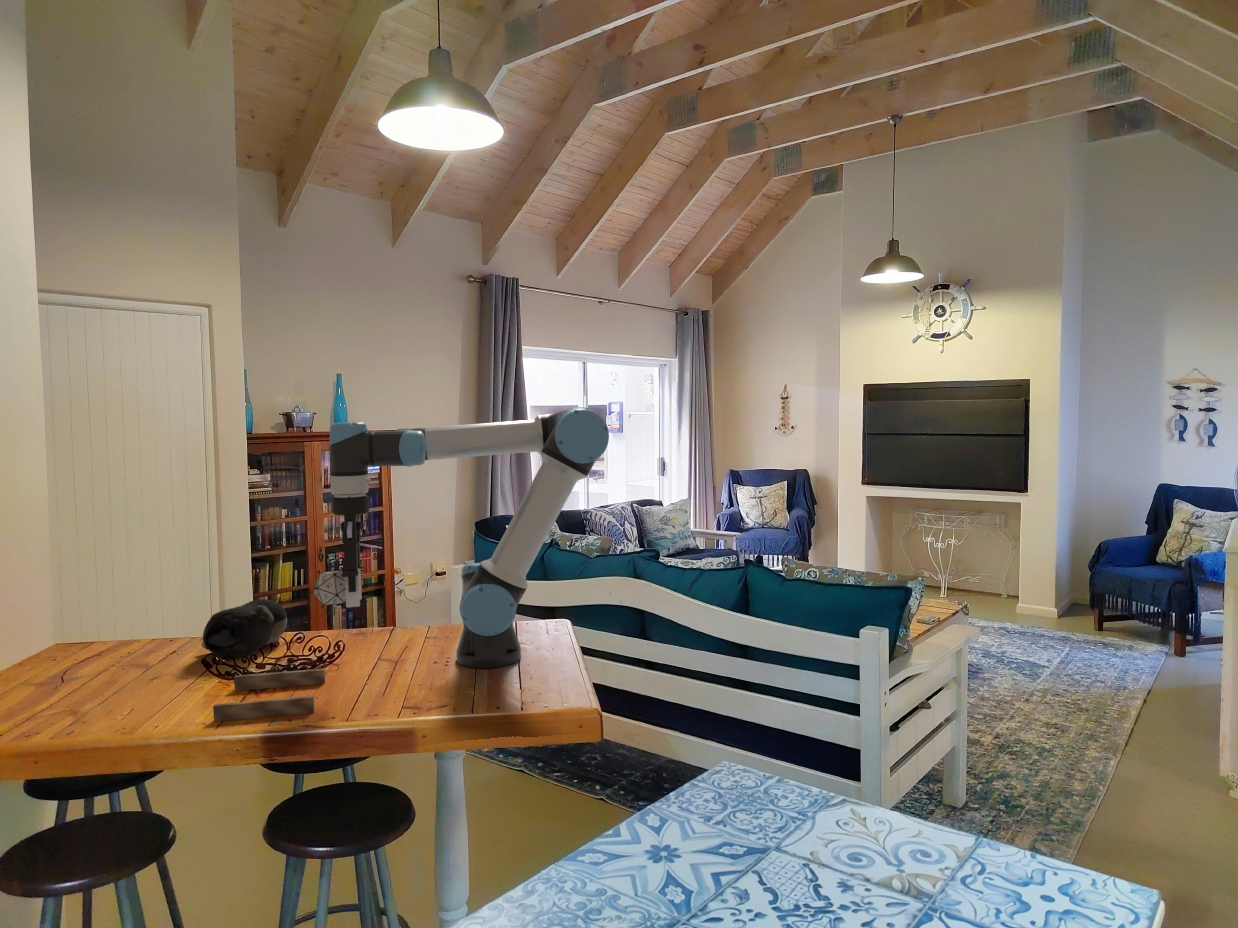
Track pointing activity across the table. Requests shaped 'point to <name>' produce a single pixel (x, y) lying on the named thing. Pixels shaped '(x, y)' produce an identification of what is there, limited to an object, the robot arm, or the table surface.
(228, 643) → the black rounded lump
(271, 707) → the walnut channel
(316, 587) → the game die
